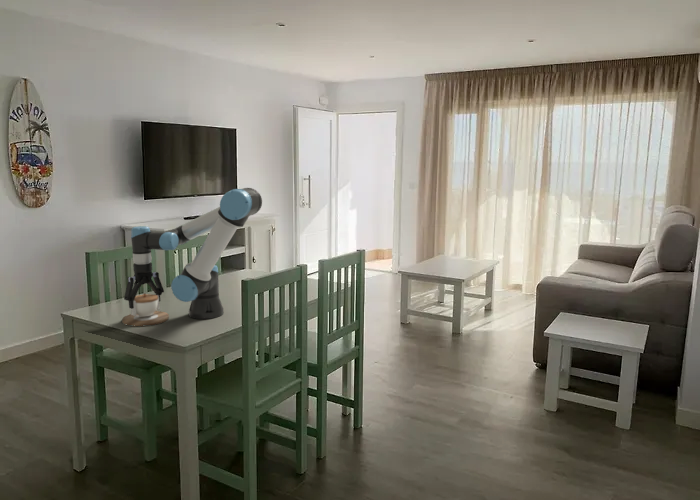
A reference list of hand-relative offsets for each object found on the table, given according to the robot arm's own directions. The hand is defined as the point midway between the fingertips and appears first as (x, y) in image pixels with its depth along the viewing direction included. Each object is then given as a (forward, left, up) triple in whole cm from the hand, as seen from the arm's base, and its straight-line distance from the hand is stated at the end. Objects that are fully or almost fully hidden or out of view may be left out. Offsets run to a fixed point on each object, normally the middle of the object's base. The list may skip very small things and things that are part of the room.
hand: (145, 312), depth 235 cm
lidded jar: (0, 0, -1) cm, 1 cm away
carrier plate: (0, 0, -3) cm, 3 cm away
